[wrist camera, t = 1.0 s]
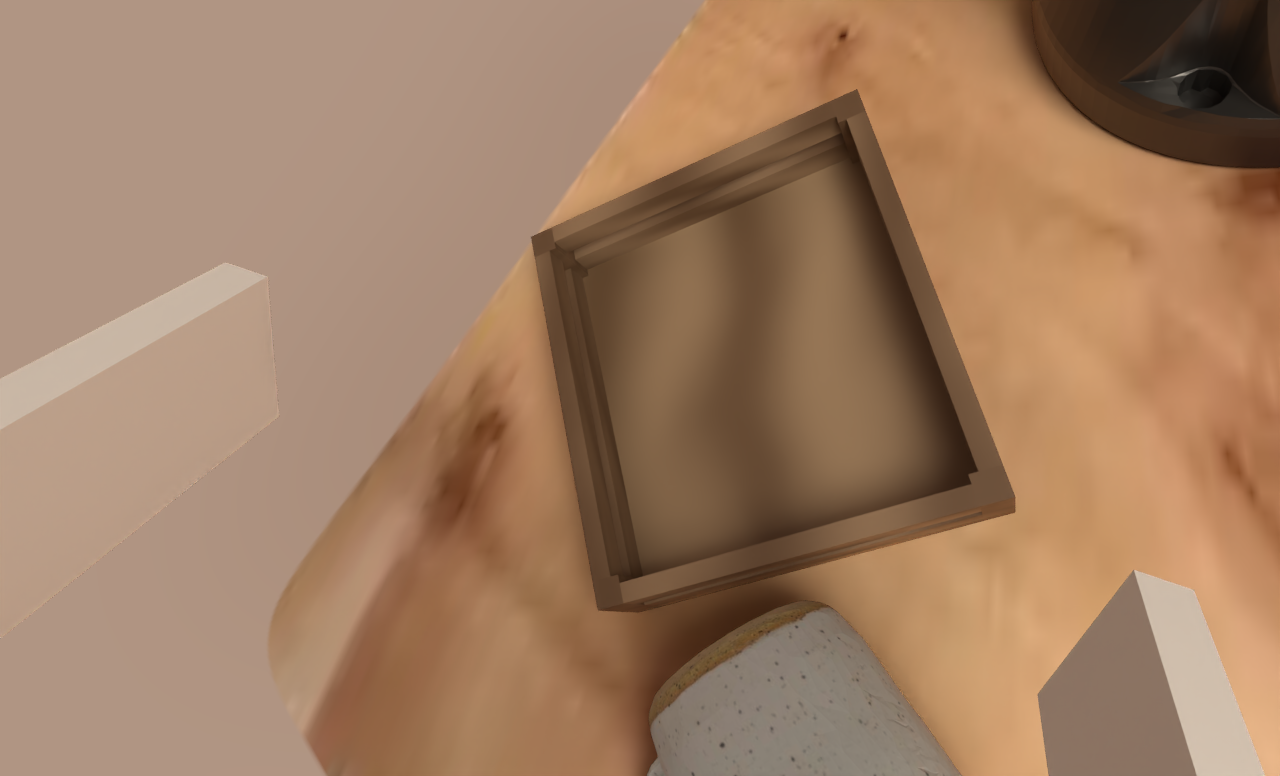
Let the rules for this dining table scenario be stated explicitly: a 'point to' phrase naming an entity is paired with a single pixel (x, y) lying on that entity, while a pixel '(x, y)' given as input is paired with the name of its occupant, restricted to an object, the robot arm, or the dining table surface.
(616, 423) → the walnut crate
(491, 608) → the dining table surface
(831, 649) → the ceramic mug
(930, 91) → the dining table surface
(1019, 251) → the dining table surface
